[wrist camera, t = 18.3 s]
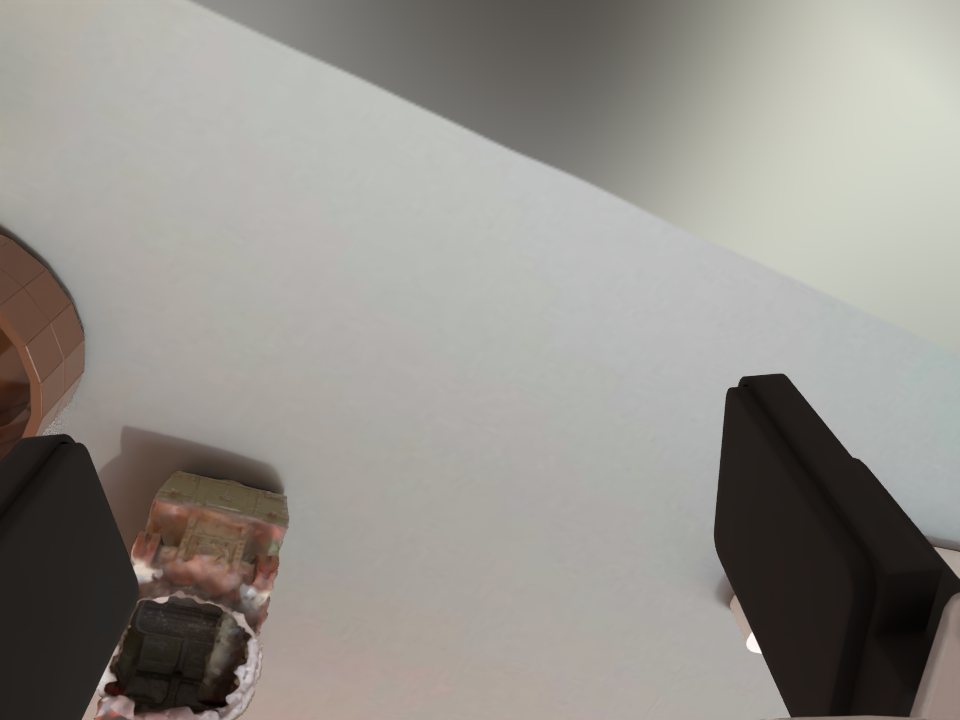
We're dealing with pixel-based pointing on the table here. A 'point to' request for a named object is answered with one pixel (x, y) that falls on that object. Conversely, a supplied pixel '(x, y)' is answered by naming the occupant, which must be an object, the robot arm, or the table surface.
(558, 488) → the table surface
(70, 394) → the bowl
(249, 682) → the decorative box
